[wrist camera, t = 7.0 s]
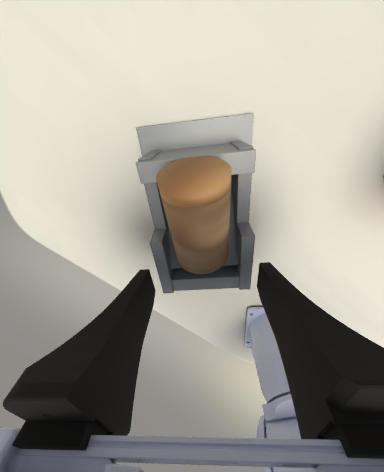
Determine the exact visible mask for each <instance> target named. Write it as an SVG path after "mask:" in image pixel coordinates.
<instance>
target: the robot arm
mask: <svg viewBox="0 0 384 472" xmlns="http://www.w3.org/2000/svg"><path fill="white" fill-rule="evenodd" d="M257 288H258V292H259V296H260V299H261V302H262V305H263V307H250V308H248V309H247V320H246V331H245V343H244V344H245V347H247V348H252V351H253V355H254V360H255V364H256V368H257V373H258V377H259V381H260V386H261V390H262V393H263V395H264V397H265V399H266V401H267V404H263V405H262V407H263V411H264V416H261V417H260V420H259V424H258V428H257V438H218V437H214V438H213V437H166V436H164V437H163V436H127V435H128V433H129V432H130V427H131V418H132V410H133V401H134V394H135V387H136V379H137V374H138V367H139V361H140V356H141V350H142V345H143V341H144V337H145V333H146V330H147V326H148V323H149V319H150V315H151V312H152V308H153V304H154V297H155V288H154V284H153V281H152V278H151V275H150V271H149V269H147V270H140V271H139V272H138V273H137V274H136V275H135V276H134V278H133V279H132V280H131V281H130V282H129V284H128V285H127V286H126V287H125V288H124V289H123V291H122V292H121V293H120V294H119V295H118V296H117V297H116V298H115V300H113V302H112V303H111V304H110V305H109V306H108V307H107V308H106V309H105V310H104V311H103V312H102V313H101V314H99V315H98V316H97V317H96V318H95V319H94V320H93V321H92V322H91V323H89V324H88V325H87V326H86V327H84V328H83V329H82V330H81V331H79V332H78V333H77V334H76V335H75V336H73V337H72V338H71V339H69V340H68V341H66V342H65V343H64V344H62V345H61V346H60V347H58V348H57V349H55V350H54V351H52V352H51V353H50V354H48V355H46V356H45V357H43V358H42V359H40V360H39V361H37V362H36V363H34V364H32V365H31V366H29V367H28V368H26V370H25V371H24V372H23V374H22V375H21V377H20V378H19V379H18V381H17V382H16V384H15V385H14V387H13V388H12V389H11V391H10V392H9V394H8V395H7V397H6V398H5V400H4V401H3V407H4V408H5V409H6V410H8V411H9V412H11V413H13V414H15V415H17V416H18V417H20V418H22V419H24V420H26V421H25V423H24V425H23V427H22V428H21V429H18V428H1V427H0V472H143V471H142V469H141V468H140V467H133V466H126V465H119V464H116V462H129V463H159V464H160V463H161V464H190V465H191V464H192V465H223V466H254V467H261V470H262V472H384V348H383V347H381V346H379V345H377V344H376V343H374V342H372V341H370V340H369V339H367V338H365V337H364V336H362V335H360V334H359V333H357V332H355V331H354V330H352V329H350V328H349V327H347V326H346V325H344V324H343V323H341V322H340V321H338V320H336V319H335V318H334V317H332V316H331V315H329V314H328V313H326V312H325V311H324V310H322V309H321V308H320V307H318V306H317V305H316V304H314V303H313V302H312V301H311V300H309V299H308V298H307V297H306V296H305V295H303V294H302V293H301V292H300V291H299V290H298V289H297V288H295V287H294V286H293V285H292V284H291V283H290V282H289V281H288V280H287V279H286V278H285V277H284V276H283V275H282V274H281V273H280V272H279V271H278V270H277V269H276V268H275V267H274V266H273V265H272V264H271V263H270V262H268V263H260V264H259V273H258V281H257Z"/></svg>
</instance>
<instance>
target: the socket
mask: <svg viewBox="0 0 384 472" xmlns="http://www.w3.org/2000/svg"><path fill="white" fill-rule="evenodd" d="M253 114H254V113H252V114H244V115H235V116H227V117H219V118H211V119H203V120H195V121H187V122H179V123H171V124H163V125H155V126H147V127H139V128H136V130H137V134H138V139H139V143H140V147H141V152H142V157H141V158H139V159H138V162H136V166H137V170H138V174H139V178H140V182H141V184H142V183H144V185H145V189H146V193H147V197H148V202H149V206H150V210H151V214H152V218H153V222H154V226H155V231H154V234H153V236H152V239H151V241H150V245H151V249H152V253H153V256H154V260H155V264H156V267H157V271H158V275H159V278H160V282H161V286H162V289H163V293H173V292H174V291H179V290H201V289H222V288H239V289H240V290H243V289H250V285H251V274H252V263H253V252H254V240H255V235H254V233H253V231H252V228H251V226H250V224H249V206H250V191H251V176H252V173H254V170H255V157H256V150H255V149H253V146H252V131H253ZM190 157H214V158H218V159H221V160H223V161H225V162H227V163H228V164H229V165H230V166H231V196H230V221H229V247H228V258H227V261H226V263H225V264H224V265H223V266H222V267H221V268H220V269H218V270H217V271H215V272H212V273H209V274H194V273H191V272H188V271H186V270H185V269H183V268H182V267H181V265H180V264H179V262H178V259H177V256H176V252H175V248H174V244H173V241H172V237H171V233H170V229H169V225H168V222H167V218H166V214H165V210H164V206H163V203H162V199H161V195H160V191H159V188H158V184H157V180H156V176H157V174H158V172H159V171H160V170H161V169H162V168H163V167H164V166H166V165H168V164H170V163H172V162H174V161H177V160H180V159H184V158H190Z"/></svg>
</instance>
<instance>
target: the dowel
mask: <svg viewBox="0 0 384 472" xmlns="http://www.w3.org/2000/svg"><path fill="white" fill-rule="evenodd" d="M156 180H157V184H158V188H159V191H160V195H161V199H162V203H163V206H164V210H165V214H166V218H167V222H168V225H169V229H170V233H171V237H172V241H173V244H174V248H175V252H176V256H177V259H178V262H179V264H180V265H181V267H182V268H183V269H185V270H186V271H188V272H191V273H194V274H209V273H212V272H215V271H217V270H218V269H220V268H221V267H222V266H223V265H224V264H225V263H226V261H227V258H228V247H229V221H230V196H231V166H230V165H229V164H228V163H227V162H225V161H223V160H221V159H218V158H214V157H190V158H184V159H180V160H177V161H174V162H172V163H170V164H168V165H166V166H164V167H163V168H162V169H161V170H160V171H159V172H158V174H157V176H156Z"/></svg>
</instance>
